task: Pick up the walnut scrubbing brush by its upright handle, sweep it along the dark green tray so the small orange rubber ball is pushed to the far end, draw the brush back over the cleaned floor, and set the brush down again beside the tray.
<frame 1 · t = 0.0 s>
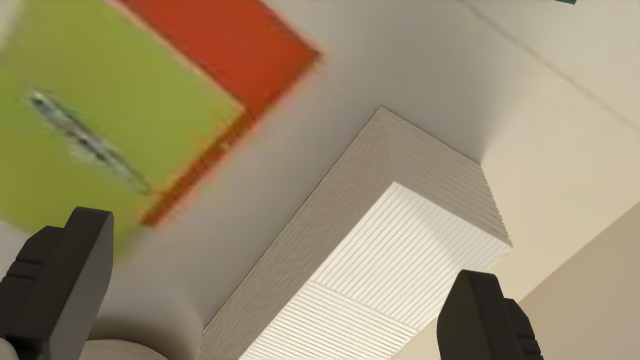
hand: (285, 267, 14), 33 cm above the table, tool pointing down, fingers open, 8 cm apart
stack of papers: (327, 254, 58), on the table
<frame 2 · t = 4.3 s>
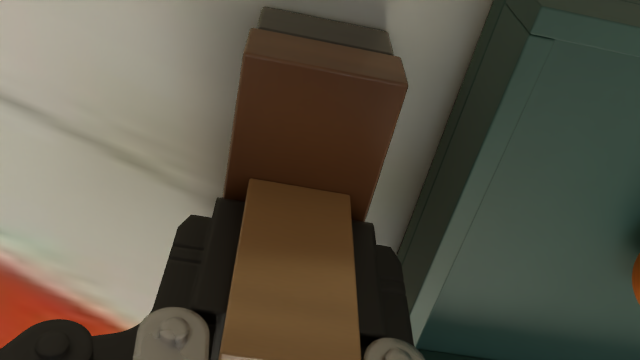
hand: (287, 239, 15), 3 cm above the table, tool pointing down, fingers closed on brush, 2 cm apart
brush: (293, 166, 17), on the table, touching gripper
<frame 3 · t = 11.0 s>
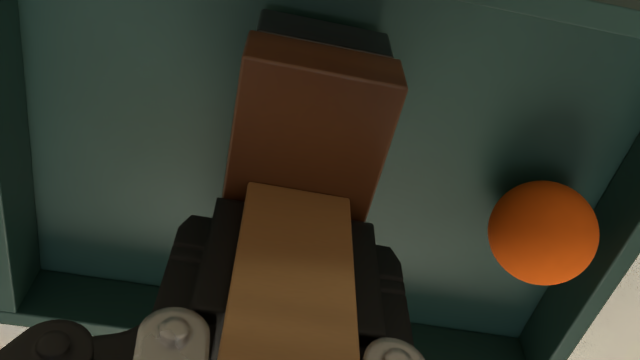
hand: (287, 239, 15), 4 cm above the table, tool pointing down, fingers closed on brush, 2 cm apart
tray: (325, 151, 18), on the table
brush: (293, 169, 17), point 1 cm above the table, touching gripper
ball: (541, 232, 17), point 2 cm above the table, tilted 66°, touching tray
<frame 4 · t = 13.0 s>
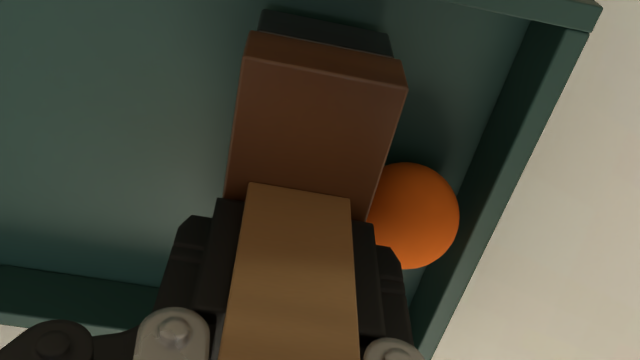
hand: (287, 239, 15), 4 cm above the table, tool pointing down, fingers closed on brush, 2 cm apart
tray: (182, 127, 18), on the table
brush: (293, 169, 17), point 1 cm above the table, touching gripper
ball: (404, 215, 17), point 2 cm above the table, tilted 66°, touching tray
when the fingers open (3 cm above the table, at t = 20.2 s): brush stays where it is, on the table.
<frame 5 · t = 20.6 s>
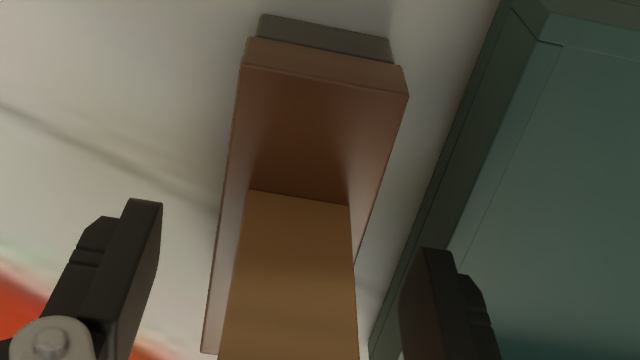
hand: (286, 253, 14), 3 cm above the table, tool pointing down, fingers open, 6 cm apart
brush: (292, 175, 17), on the table
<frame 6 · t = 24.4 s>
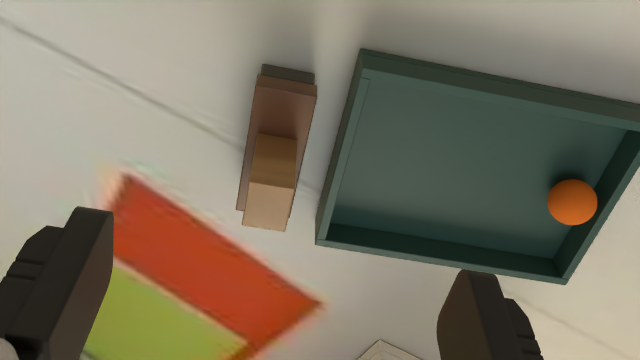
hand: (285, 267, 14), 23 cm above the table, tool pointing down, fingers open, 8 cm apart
tray: (468, 165, 40), on the table
brush: (276, 132, 38), on the table
ball: (571, 202, 39), point 2 cm above the table, tilted 70°, touching tray
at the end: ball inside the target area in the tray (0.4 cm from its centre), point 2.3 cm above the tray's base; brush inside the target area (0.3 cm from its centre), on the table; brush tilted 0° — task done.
